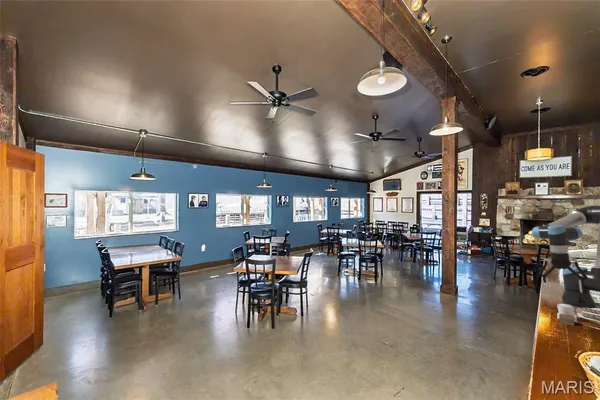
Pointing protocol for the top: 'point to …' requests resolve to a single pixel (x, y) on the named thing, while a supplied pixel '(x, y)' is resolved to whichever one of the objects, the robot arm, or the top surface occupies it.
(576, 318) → the board
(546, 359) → the top surface
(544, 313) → the top surface
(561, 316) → the housing
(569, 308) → the white cup
